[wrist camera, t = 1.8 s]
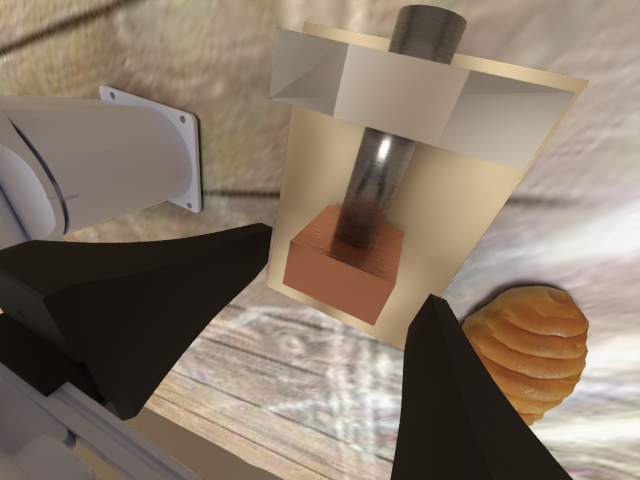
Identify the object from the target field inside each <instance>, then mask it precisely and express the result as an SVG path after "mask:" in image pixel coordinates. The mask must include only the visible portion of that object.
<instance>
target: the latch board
mask: <svg viewBox="0 0 640 480" xmlns="http://www.w3.org/2000/svg"><path fill="white" fill-rule="evenodd" d="M390 42H391V40H390V39H385V38H380V37H375V36H370V35H366V34H361V33H356V32H351V31H346V30H341V29H336V28H331V27H327V26H322V25H317V24H312V23H307V22H304V27H303V33H300V32H295V31H290V30H286V29H281V28H276V34H275V45H274V55H273V66H272V77H271V87H270V98H269V99H273V100H276V101H280V102H283V103H287V104H290V105H293V106H292V113H291V120H290V127H289V134H288V141H287V148H286V155H285V163H284V170H283V177H282V184H281V191H280V198H279V205H278V213H277V220H276V227H275V234H274V241H273V248H272V255H271V262H270V270H269V277H268V284H267V286H268V287H270V288H272V289H274V290H276V291H279V292H281V293H283V294H285V295H287V296H289V297H291V298H293V299H295V300H298V301H300V302H302V303H304V304H306V305H308V306H310V307H312V308H314V309H317V310H319V311H321V312H323V313H325V314H327V315H329V316H331V317H333V318H336V319H338V320H340V321H342V322H344V323H346V324H348V325H350V326H352V327H355V328H357V329H359V330H361V331H363V332H365V333H367V334H369V335H371V336H374V337H376V338H378V339H380V340H382V341H384V342H386V343H388V344H390V345H393V346H395V347H397V348H399V349H401V350H404V348H405V342H406V337H407V332H408V327H409V325H410V324H411V322H412V320H413V319H414V317H415V316H416V314H417V313H418V311H419V310H420V308H421V307H422V305H423V304H424V302H425V300H426V299H427V297H428V296H429V294H430V293H431V294H433V295H435V296H438V297H440V296H441V295H442V294H443V292H444V291H445V289H446V288H447V286H448V285H449V283H450V282H451V281H452V279H453V278H454V276H455V275H456V273H457V272H458V270H459V269H460V267H461V266H462V265H463V263H464V262H465V260H466V259H467V257H468V256H469V254H470V253H471V252H472V250H473V249H474V247H475V246H476V244H477V243H478V241H479V240H480V238H481V237H482V236H483V234H484V233H485V231H486V230H487V228H488V227H489V225H490V224H491V223H492V221H493V220H494V218H495V217H496V215H497V214H498V212H499V211H500V209H501V208H502V207H503V205H504V204H505V202H506V201H507V199H508V198H509V196H510V195H511V194H512V192H513V191H514V189H515V188H516V186H517V185H518V183H519V182H520V180H521V179H522V178H523V176H524V175H525V173H526V172H527V170H528V169H529V167H530V166H531V164H532V163H533V162H534V160H535V159H536V157H537V156H538V154H539V153H540V151H541V150H542V149H543V147H544V146H545V144H546V143H547V141H548V140H549V138H550V137H551V135H552V134H553V133H554V131H555V130H556V128H557V127H558V125H559V124H560V122H561V121H562V120H563V118H564V117H565V115H566V114H567V112H568V111H569V109H570V108H571V106H572V105H573V104H574V102H575V101H576V99H577V98H578V96H579V95H580V93H581V92H582V91H583V89H584V88H585V86H586V85H587V83H588V82H589V80H585V79H580V78H575V77H570V76H565V75H560V74H555V73H550V72H546V71H541V70H536V69H531V68H526V67H521V66H516V65H512V64H507V63H502V62H497V61H492V60H487V59H482V58H477V57H473V56H468V55H463V54H458V53H455V54H454V57H453V59H452V61H451V64H450V65H447V64H443V63H438V62H433V61H429V60H424V59H420V58H415V57H410V56H406V55H401V54H397V53H392V52H388V48H389V45H390ZM365 126H366V127H370V128H373V129H377V130H380V131H384V132H387V133H391V134H394V135H398V136H401V137H405V138H408V139H412V140H415V141H418V143H417V145H416V148H415V150H414V153H413V155H412V157H411V160H410V162H409V165H408V167H407V169H406V172H405V174H404V177H403V179H402V181H401V184H400V186H399V189H398V191H397V193H396V196H395V198H394V201H393V203H392V205H391V208H390V210H389V213H388V215H387V217H386V220H385V222H384V225H387V226H389V227H392V228H395V229H397V230H400V231H403V232H404V238H403V244H402V250H401V256H400V262H399V268H398V274H397V280H396V285H395V287H394V289H393V291H392V293H391V295H390V296H389V298H388V300H387V302H386V304H385V306H384V308H383V310H382V312H381V313H380V315H379V317H378V319H377V321H376V323H375V325H374V326H372V325H370V324H368V323H366V322H364V321H362V320H359V319H357V318H355V317H353V316H351V315H349V314H347V313H344V312H342V311H340V310H338V309H336V308H334V307H331V306H329V305H327V304H325V303H323V302H321V301H319V300H316V299H314V298H312V297H310V296H308V295H306V294H303V293H301V292H299V291H297V290H295V289H293V288H291V287H288V286H286V285H284V284H282V283H283V278H284V272H285V267H286V262H287V256H288V251H289V245H290V241H291V240H292V239H293V238H294V237H295V236H296V235H297V234H298V233H299V232H300V231H301V230H302V229H303V228H305V227H306V226H307V225H308V224H309V223H310V222H311V221H312V220H313V219H314V218H315V217H316V216H317V215H318V214H319V213H321V212H322V211H323V210H324V209H325V208H326V207H327V206H328V205H329V204H330V205H332V206H335V207H338V208H341V207H342V204H343V201H344V197H345V194H346V190H347V187H348V184H349V180H350V177H351V174H352V170H353V167H354V163H355V160H356V157H357V153H358V150H359V147H360V143H361V140H362V136H363V133H364V130H365Z"/></svg>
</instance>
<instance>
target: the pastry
mask: <svg viewBox="0 0 640 480" xmlns="http://www.w3.org/2000/svg"><path fill="white" fill-rule="evenodd" d="M588 327H589V322H588V320H587V319H586V317H585V316H584V314H583V313H582V312H581V311H580V310H579V308H578V307H577V306H576V305H575V303H574V302H573V299H572V297H571V296H570V295H569V294H568V293H566V292H565V291H562V290H558V289H554V288H550V287H545V286H524V287H515V288H510V289H508V290H506V291H504V292H502V293H501V294H500V295H499V296H497V297H496V299H494V300H493V301H492V302H490V303H489V304H488V305H486V306H484V307H482V309H480V310H479V311H477V312H474V313H472V314H470V315H469V316H468V317H466V319H465V322H464V324H463V325H462V329H463V331H464V333H465V335H466V336H467V338H468V340H469V341H470V343H471V345H472V347H473V348H474V350H475V351H476V353H477V355H478V356H479V358H480V360H481V361H482V363H483V364H484V366H485V367H486V369H487V370H488V372H489V373H490V375H491V376H492V378H493V379H494V381H495V382H496V384H497V385H498V387H499V388H500V390H501V391H502V392H503V394H504V395H505V396H506V398H507V399H508V400H509V402H510V403H511V404H512V406H513V407H514V409H515V410H516V411H517V413H518V414H519V415H520V417H521V418H522V419H523V420H524V422H525V423H526V424H527V425H528V426H530V425H533V422H534V421H537V420H540V419H542V418H543V414H544V413H545V412H546V411H547V410H549V409H551V408H553V407H555V406H557V405H559V404H560V403H561V402H562V401H563V399H564V398H565V397H568V396H569V395H570V394H571V393H572V392H573V390H574V387H575V385H576V383H578V382H579V381H580V376H581V373H582V371H583V369H584V367H585V365H586V362H585V358H586V355H587V352H588V350H587V347H586V344H585V343H586V340H587V331H588Z"/></svg>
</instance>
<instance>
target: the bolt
mask: <svg viewBox="0 0 640 480" xmlns="http://www.w3.org/2000/svg"><path fill="white" fill-rule="evenodd" d="M466 25H467V22H466V20H465V19H464V18H463V17H462V16H460V15H458V14H457V13H454V12H452V11H449V10H446V9H443V8H439V7H434V6H427V5H410V6H405V7H403V8H401V9H400V11H399V15H398V18H397V21H396V25H395V28H394V31H393V35H392V38H391V42H390V45H389V48H388V52H392V53H397V54H401V55H406V56H410V57H415V58H420V59H424V60H429V61H433V62H438V63H443V64H447V65H450V64H451V61H452V59H453V57H454V54H455V52H456V49H457V47H458V45H459V42H460V40H461V37H462V35H463V33H464V30H465V28H466ZM417 143H418V141H415V140H412V139H408V138H405V137H401V136H398V135H394V134H391V133H387V132H384V131H380V130H377V129H373V128H370V127H366V126H365V130H364V133H363V136H362V140H361V143H360V147H359V150H358V153H357V157H356V160H355V163H354V167H353V170H352V174H351V177H350V180H349V184H348V187H347V190H346V194H345V197H344V201H343V204H342V207H341V208H338V207H335V206H332V205H330V204H329V205H328V206H327V207H326V208H325V209H324V210H323V211H322V212H321V213H319V214H318V215H317V216H316V217H315V218H314V219H313V220H312V221H311V222H310V223H309V224H308V225H307V226H306V227H305V228H303V229H302V230H301V231H300V232H299V233H298V234H297V235H296V236H295V237H294V238H293V239H292V240H291V241H290V245H289V251H288V256H287V262H286V267H285V272H284V278H283V283H282V284H284V285H286V286H288V287H291V288H293V289H295V290H297V291H299V292H301V293H303V294H306V295H308V296H310V297H312V298H314V299H316V300H319V301H321V302H323V303H325V304H327V305H329V306H331V307H334V308H336V309H338V310H340V311H342V312H344V313H347V314H349V315H351V316H353V317H355V318H357V319H359V320H362V321H364V322H366V323H368V324H370V325H372V326H374V325H375V323H376V321H377V319H378V317H379V315H380V313H381V312H382V310H383V308H384V306H385V304H386V302H387V300H388V298H389V296H390V295H391V293H392V291H393V289H394V287H395V285H396V280H397V274H398V268H399V262H400V256H401V250H402V244H403V238H404V232H403V231H400V230H397V229H395V228H392V227H389V226H387V225H384V222H385V220H386V217H387V215H388V213H389V210H390V208H391V205H392V203H393V201H394V198H395V196H396V193H397V191H398V189H399V186H400V184H401V181H402V179H403V177H404V174H405V172H406V169H407V167H408V165H409V162H410V160H411V157H412V155H413V153H414V150H415V148H416V145H417Z"/></svg>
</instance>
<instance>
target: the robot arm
mask: <svg viewBox="0 0 640 480" xmlns="http://www.w3.org/2000/svg"><path fill="white" fill-rule="evenodd" d="M99 92H100V97H101V99H85V98H64V97H44V96H24V95H0V308H1V309H2V311H3V312H4V313H2V314H0V480H100V478H99V477H98V476H97V475H96V474H95V472H94V470H93V469H92V468H91V467H89V466H88V465H87V464H86V463H85V462H84V461H83V460H81V459H80V458H79V457H78V456H77V455H75V453H74V452H73V450H74V448H75V446H76V440H78V441H79V442H80V443H82V444H83V445H84V446H85V447H87V448H88V449H89V450H91V451H92V452H93V453H94V454H96V455H97V456H98V457H99V458H101V459H102V460H103V461H104V462H106V463H107V464H108V465H110V466H111V467H112V468H113V469H115V470H116V471H117V472H118V473H120V474H121V475H122V476H124V477H125V478H126V479H127V480H204V479H203V478H201V477H200V476H198V475H197V474H196V473H194V472H193V471H191V470H190V469H189V468H187V467H186V466H184V465H183V464H182V463H180V462H179V461H177V460H176V459H175V458H173V457H172V456H171V455H169V454H168V453H166V452H165V451H163V450H162V449H161V448H160V447H158V446H157V445H155V444H154V443H152V442H151V441H150V440H148V439H147V438H145V437H144V436H143V435H141V434H140V433H138V432H137V431H136V430H135V429H133V428H132V427H130V426H129V425H127V424H126V423H125V422H123V421H124V420H128V419H131V418H133V417H135V416H137V414H138V413H139V412H140V410H141V409H142V407H143V406H144V405H145V403H146V402H147V401H148V399H149V398H150V396H151V395H152V394H153V392H154V391H155V390H156V388H157V387H158V386H159V384H160V383H161V382H162V380H163V379H164V378H165V376H166V375H167V374H168V372H169V371H170V370H171V369H172V367H173V366H174V365H175V363H176V362H177V361H178V360H179V358H180V357H181V356H182V355H183V353H184V352H185V351H186V350H187V349H188V347H189V346H190V345H191V344H192V342H193V341H194V340H195V339H196V338H197V336H198V335H199V334H200V333H201V332H202V331H203V330H204V328H205V327H206V326H207V325H208V324H209V323H210V322H211V320H212V319H213V318H214V317H215V316H216V315H217V314H218V313H219V312H220V311H221V310H222V309H223V308H224V307H225V306H226V305H227V304H228V303H230V302H231V301H232V300H233V299H234V298H235V297H236V296H237V295H238V294H239V293H240V292H241V291H242V290H243V289H244V288H246V287H247V286H248V285H249V284H250V283H251V282H252V281H253V280H254V279H255V278H256V277H257V275H258V274H259V273H260V272H261V271H262V269H263V268H264V267H265V265H266V264H267V263H268V258H269V250H270V243H271V235H272V227H270V226H268V225H265V224H263V223H256V224H251V225H246V226H242V227H238V228H233V229H229V230H224V231H220V232H215V233H210V234H204V235H199V236H194V237H188V238H181V239H172V240H163V241H148V242H130V243H85V242H65V241H64V237H63V235H66V234H69V233H72V232H75V231H78V230H81V229H84V228H87V227H90V226H93V225H96V224H99V223H102V222H105V221H108V220H111V219H114V218H117V217H120V216H123V215H126V214H129V213H132V212H135V211H138V210H141V209H144V208H147V207H150V206H153V205H156V204H159V203H162V202H165V201H169V202H172V203H174V204H176V205H179V206H181V207H183V208H185V209H188V210H190V211H192V212H195V213H197V212H200V211H201V209H202V207H201V186H200V165H199V144H198V124H197V119H196V117H195V116H194V115H193V114H191V113H188V112H185V111H182V110H179V109H176V108H173V107H170V106H167V105H164V104H161V103H158V102H154V101H151V100H148V99H145V98H142V97H139V96H136V95H133V94H130V93H127V92H124V91H121V90H118V89H115V88H112V87H109V86H103V85H101V86H100V87H99ZM184 117H185V119H184ZM185 120H186V121H185ZM390 480H573V479H572V478H571V477H570V476H569V474H568V473H567V472H566V471H565V470H564V469H563V468H562V466H561V465H560V464H559V463H558V462H557V461H556V460H555V458H554V457H553V456H552V455H551V453H550V452H549V451H548V450H547V449H546V447H545V446H544V445H543V444H542V443H541V441H540V440H539V439H538V438H537V437H536V435H535V434H534V433H533V432H532V431H531V429H530V428H529V427H528V425H527V424H526V423H525V422H524V420H523V419H522V418H521V417H520V415H519V414H518V413H517V411H516V410H515V409H514V407H513V406H512V404H511V403H510V402H509V400H508V399H507V398H506V396H505V395H504V394H503V392H502V391H501V390H500V388H499V387H498V385H497V384H496V382H495V381H494V379H493V378H492V376H491V375H490V373H489V372H488V370H487V369H486V367H485V366H484V364H483V363H482V361H481V360H480V358H479V356H478V355H477V353H476V351H475V350H474V348H473V347H472V345H471V343H470V341H469V340H468V338H467V336H466V335H465V333H464V331H463V329H462V327H461V326H460V324H459V322H458V320H457V318H456V317H455V315H454V313H453V311H452V309H451V308H450V306H449V304H448V303H447V301H446V300H445V299H443V298H440V297H438V296H435V295H433V294H431V293H430V294H429V296H428V297H427V299H426V300H425V302H424V304H423V305H422V307H421V308H420V310H419V311H418V313H417V314H416V316H415V317H414V319H413V320H412V322H411V324H410V325H409V327H408V332H407V337H406V342H405V348H404V363H403V383H402V403H401V415H400V424H399V430H398V437H397V444H396V450H395V456H394V462H393V468H392V474H391V479H390Z"/></svg>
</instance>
